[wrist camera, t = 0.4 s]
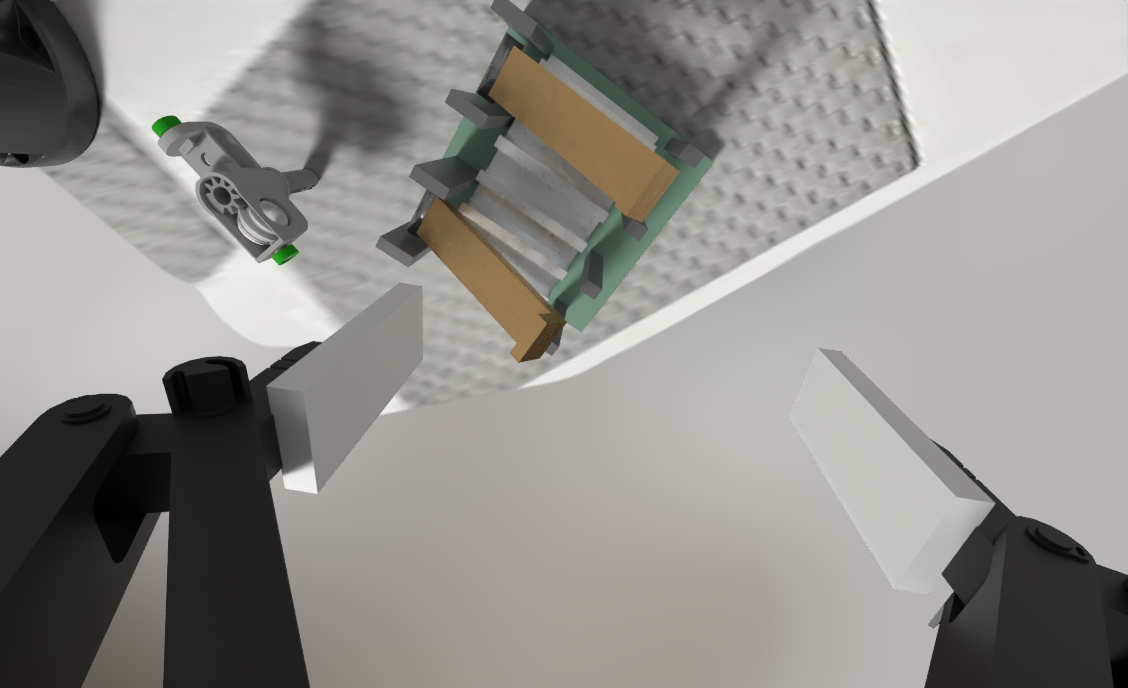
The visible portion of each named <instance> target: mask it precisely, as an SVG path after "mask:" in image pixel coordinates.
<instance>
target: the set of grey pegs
mask: <svg viewBox="0 0 1128 688" xmlns="http://www.w3.org/2000/svg"><path fill="white" fill-rule="evenodd" d="M491 9H492V10H493V11H494V12H495V13H496V14H497V15H498V16H499V17H500V18H501V19H502V20H503V21H504V22H505V23H506V24H507V25H508V26H509V27H510V28H511V29H512V30H514V31H515V32H516V33H517V34H518V35H519V36H520V37H521V38H523V39H524V40H525V41H526V42H528V43H529V44H530V45H532V46H533V47H534V48H535V49H537V50H538V51H539V52H541V53H542V54H543V55H544V56H546V57H547V58H548V57H549V55H550V54H551V52H552V50H553V48H554V46H553V44H552V43H551V41H550V40H549V39H548V37H547V36H546V34H545V33H544V32H543V30H542V29H541V27H540V26H539V24H538V23H537V22H535V21H534V20H533V19H532V18H530V17H529V16H528V15H527V14H525V13H524V12H523V11H522V10H520V9H519V8H518V7H516V6H515V5H514V4H513V3H511V2H510V1H509V0H494V2H493V4H492V6H491ZM445 103H446V104H448V105H449V106H451V107H452V108H453V109H455V110H456V111H458V112H459V113H460V114H462V115H463V116H464V117H466V118H467V119H469V120H470V121H471V122H473V123H474V124H476V125H477V126H478V127H480V128H481V129H486V128H502V127H510V125H511V124H512V122H513V120H514V118H515V117H514V116H512V115H511V114H510V113H509V112H508V111H506V110H505V109H504V108H502V107H501V106H500V105H498V104H497V103H496V102H495V103H494V104H492V103H490V102H488V101H487V100H485V99H484V98H483V97H481V96H480V95H479V94H474V93H469V92H464V91H459V90H454V89H451V91H450V93H449V95H448V97H447V99H446V101H445ZM664 150H666V151H667V152H668V153H670V154H671V155H672V156H673V157H675V158H676V159H678V160H680V161H681V162H683V163H685V164H687V165H689V166H691V167H692V168H694V169H695V168H696V167H697V165H698V164H699V163H700V161H701V160H702V159H703V158H704V156H705V154H703V153H702V152H701V151H700V150H698V149H697V148H696V147H695V146H693V145H692V144H691V143H690V142H686V141H683V140H679V139H675V138H671V139H670V140H669V142H668V143H667V144H666V146H665V147H664ZM478 173H479V171H478V170H476V169H475V168H473V167H472V166H471V165H469V164H468V163H466V162H465V161H463V160H462V159H461V158H459V157H458V156H452V157H448V158H444V159H439V160H435V161H431V162H426V163H422V164H418V165H415V166H414V168H413V170H412V172H411V174H410V176H409V177H410V178H411V179H413V180H414V181H416V182H417V183H419V184H420V185H422V186H423V187H425V188H426V189H428V190H429V191H431V192H432V193H434V194H435V195H437V196H438V197H440V198H441V199H443V200H445V199H447V198H449V197H451V196H453V195H456V194H458V193H460V192H462V191H464V190H466V189H468V188H470V187H472V186H474V185H476V184H478V183H479V182H478V181H477V180H476V177H477V175H478ZM621 216H622V222H623V228H624V231H625V232H626V233H628V234H629V235H631V236H632V237H633V238H635V239H636V240H638V241H640V240H641V239H642V237H643V236H644V235H645V233H646V232H647V231H648V228H647V225H646V223H645V220H643V222H640V221H638V220H635V219H633V218H630V217H627V216H625V215H624V214H623V213H622V212H621ZM409 223H410V222H408V223H406V224H404V225H402V226H400V227H398V228H396V229H394V230H392V231H390V232H388V233H386V234H384V235H382V236H380V238H379V240H378V242H377V244H376V246H375V247H377V248H378V249H380V250H382V251H383V252H385V253H386V254H388V255H389V256H391V257H393V258H394V259H396V260H397V261H399V262H400V263H402V264H404V265H405V266H407V267H409V266H411V265H412V264H413V263H415V262H416V261H417V260H419V259H420V258H422V257H423V256H424V255H426V254H427V253H428V252H430V251H431V249H430V247H429V246H428V245H427V244H426V243H425V242H424V241H423V240H422V239H421V238H417V237H415V236H413V235H411V234H410V233H409V232H408V231H407V227H408V225H409ZM602 289H603V257H602V256H600V255H599V254H597V253H596V252H595V251H593V250H592V249H591V250H590V252H589V253H588V254H587V256H586V257H585V261H584V267H583V273H582V280H581V286H580V291H582V292H583V293H585V294H586V295H588V296H589V297H591V298H592V299H594V300H595V299H596V298H597V296H598V295H599V294H600V292H601V291H602ZM551 306H552V307H553V308H554V309H555V310H556V311H557V312H558V313H559V314H560V315H561V316H562V317H563V318H564V319H565V316H566V311H567V305H566V304H564V303H563V302H561V301H560V300H558V299H557V298H556V299H555V300H554V302H553V303H552V305H551ZM562 330H563V328H562ZM562 330H561V331H560V332H559V334H558V335H557V336H556V338H555V339H554V340H553V342H552V343H551V344H550V346H549V347H548V348H547V350H546V351H545V352H547V353H549V354H550V355H553V354H554V353H555V351H556V350H557V349H558V347H559V344H560V340H561V335H562Z"/></svg>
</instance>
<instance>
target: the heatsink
mask: <svg viewBox="0 0 1128 688" xmlns="http://www.w3.org/2000/svg"><path fill="white" fill-rule="evenodd" d="M539 65H541V66H542V67H543V68H544V69H546V70H547V71H548V72H550V73H551V74H552V75H554V76H555V77H556V78H558V79H559V80H560V81H561V82H563V83H564V84H565V85H567V86H568V87H569V88H571V89H572V90H573V91H575V92H576V93H577V94H579V95H580V96H581V97H582V98H584V99H585V100H586V101H588V102H589V103H590V104H592V105H593V106H594V107H596V108H597V109H598V110H600V111H601V112H602V113H603V114H605V115H606V116H607V117H609V118H610V119H611V120H613V121H614V122H615V123H617V124H618V125H619V126H621V127H622V128H623V129H624V130H626V131H627V132H628V133H630V134H631V135H632V136H634V137H635V138H636V139H638V140H639V141H640V142H642V143H643V144H644V145H645V146H647V147H648V148H649V149H651V150H652V151H654V150H655V149H656V148H657V147H656V146H655V145H654V144H655V142H656V141H657V139H658V138H659V137H658V136H656V135H655V134H654V133H652V132H651V131H650V130H649V129H647V128H646V127H645V126H643V125H642V124H641V123H640V122H638V121H637V120H636V119H634V118H633V117H632V116H631V115H629V114H628V113H627V112H625V111H624V110H623V109H622V108H620V107H619V106H618V105H616V104H615V103H614V102H613V101H611V100H610V99H609V98H607V97H606V96H605V95H604V94H602V93H601V92H600V91H598V90H597V89H596V88H595V87H593V86H592V85H591V84H590V83H588V82H587V81H586V80H584V79H583V78H582V77H581V76H579V75H578V74H577V73H575V72H574V71H573V70H572V69H570V68H569V67H568V66H566V65H565V64H564V63H563V62H561V61H560V60H559V59H557V58H556V57H555V56H554V55H552V54H551V56H550V58H549V59H548V61H547V62H546V61H545V60H544V59H541V61H540V63H539ZM494 146H495V147H497V148H498V151H497V153H496V155H495V156H494V158H493V160H492V162H491V164H490V165H489V166H488V167H485V168H482V169H481V170H480V172H479V173H478V175H477V177H476V180H477V181H478V182H480V183H479V185H478V187H477V189H476V190H475V192H474V194H473V196H472V197H470V198H468V199H466V200H465V201H463V202H462V204H461V206H460V208H459V210H458V211H459V212H460V213H462V216H463V217H464V218H465V219H466V220H467V221H468V222H469V223H470V224H471V225H472V226H473V227H474V228H475V229H476V230H477V231H478V232H479V233H480V234H481V235H482V236H483V237H484V238H485V239H486V240H487V241H488V242H489V243H490V244H491V245H492V246H493V247H494V248H495V249H496V250H497V251H498V252H499V253H500V254H501V255H502V256H503V257H504V258H505V259H506V260H507V261H508V262H509V263H510V264H511V265H512V266H513V267H514V268H515V269H516V270H517V271H518V272H519V273H520V274H521V275H522V276H523V277H524V278H525V279H526V280H527V281H528V283H529V284H530V285H531V286H532V287H533V288H534V289H535V290H536V291H537V292H538V293H539V294H540V295H541V296H542V297H543V298H544V299H545V300H546V301H548V300H549V297H550V294H551V291H552V288H553V287H554V285H555V284H556V283H557V281H558V280H559V279H560V280H561V281H562V280H563V279H564V277H565V276H566V274H567V273H568V270H569V266H570V263H571V261H572V260H573V258H574V257H575V256H576V254H577V253H578V251H579V252H581V253H582V252H583V250H584V249H585V248H586V246H587V245H588V240H589V236H590V234H591V233H592V232H593V230H594V229H595V227H596V226H597V224H598V223H599V222H601V223H603V222H604V221H605V219H606V218H607V217H608V215H609V207H610V206H611V205H612V203H613V202H614V201H613V200H612V199H611V198H610V197H609V196H607V195H606V194H605V193H604V192H603V191H601V190H600V189H599V188H598V187H597V186H596V185H594V184H593V183H592V182H591V181H590V180H588V179H587V178H586V177H585V176H584V175H582V174H581V173H580V172H579V171H578V170H577V169H575V168H574V167H573V166H572V165H571V164H569V163H568V162H567V161H566V160H565V159H563V158H562V157H561V156H560V155H559V154H558V153H556V152H555V151H554V150H553V149H552V148H550V147H549V146H548V145H547V144H546V143H545V142H543V141H542V140H541V139H540V138H539V137H537V136H536V135H535V134H534V133H533V132H531V131H530V130H529V129H528V128H527V127H526V126H524V125H523V124H522V123H521V122H520V121H518V120H517V119H515V120H514V122H513V124H512V126H511V128H510V129H509V131H508V133H507V134H501V135H499V137H498V139H497V141H496V142H495V144H494Z"/></svg>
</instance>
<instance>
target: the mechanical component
mask: <svg viewBox="0 0 1128 688" xmlns="http://www.w3.org/2000/svg"><path fill="white" fill-rule="evenodd" d="M152 130H153V131H154V132H155V133H156V134H157V135H158V136H159V137H160V139H159V141H158V145H159V147H160V148H161V149H162V150H163V151H164V152H165V153H166V154H167V155H168V156H172V157H174V156H182V157H183V159H184V160H185V161H186V162H187V163H188V164H189V165H190V166H191V167H192V168H193V169H194V170H195V171H196V173H197V174H198V175H199V176H200V177H201V178H200V179H199V180H198V181H197V182H196V195H197V198H198V200H199V202H200V204H201V205H202V206H203V208H204V209H205V210H206V211H207V212H208V213H209V214H211V215H212V216H214V217H215V218H216V219H217V220H218V221H219V222H220V223H221V224H222V225H223V226H224V227H225V228H226V229H227V230H228V231H229V233H230V234H231V235H232V236H233V237H234V238H235V239H236V240H237V241H238V242H239V243H240V244H241V245H242V246H243V247H244V248H245V249H246V250H247V251H248V253H249V254H250V255H251V256H252V257H253V258H254V259H255V260H256V261H257V262H258V263H261V262H263V261H265V260H268V259H270V258H273V259H274V260H275V261H276V262H277V263H278V265H282V264H284V263H286V262H288V261H289V260H291V259H292V258H293V257H295V256H296V255H297V254H298V253H299V251H298V250H297V249H296V248H295V247H294V246H293V245H292V244H291V243H292V242H294V241H295V240H296V239H297V238H298V237H299V236H301V235H302V234H303V233H304V232H305V231H306V230H307V229H308V223H307V221H306V219H305V217H304V216H303V215H302V213H301V212H300V211H299V210H298V209H297V208H296V207H295V205H294V204H293V203H292V202H291V201H290V200H289V199H288V198H289V196H290V194H292V193H296V192H301V191H305V190H309V189H312V187H311V186H313V185H316V184H317V183H318V177H317V175H316V173H315V172H314V171H312V170H310V169H302V170H296V171H290V172H283V173H281V172H280V171H278V170H276V169H274V168H270V167H265V168H261V167H260V166H259V164H258V163H257V162H256V161H255V160H254V159H253V158H252V156H251V155H250V154H249V153H248V152H247V151H246V150H245V148H244V147H243V146H242V145H241V144H240V143H239V142H238V140H237V139H236V138H235V137H234V136H233V135H232V134H231V133H230V132H228V131H227V130H226V129H224V128H223V127H221V126H219V125H217V124H215V123H212V122H185V123H182V122H181V121H180V120H179V119H178V118H177V117H176V116H166V117H163V118H161V119H159V120H157V121H156V122H155V123H154V124H153V125H152ZM205 159H206V160H207V161H208V162H209V163H210V164H211V165H209V164H208V163H207V162H206V161H205ZM237 222H238V223H237ZM238 225H239V227H240V229H241V230H242V231H243V232H244V233H245V234H246V235H247V236H248V237H249V238H251V239H252V240H254V241H255V242H258V243H260V244H263V245H260V244H257V243H254V242H252V241H250V240H249V239H248V238H246V237H245V236H244V235H243V234H242V232H241V231H240V230H239V228H238Z"/></svg>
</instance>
